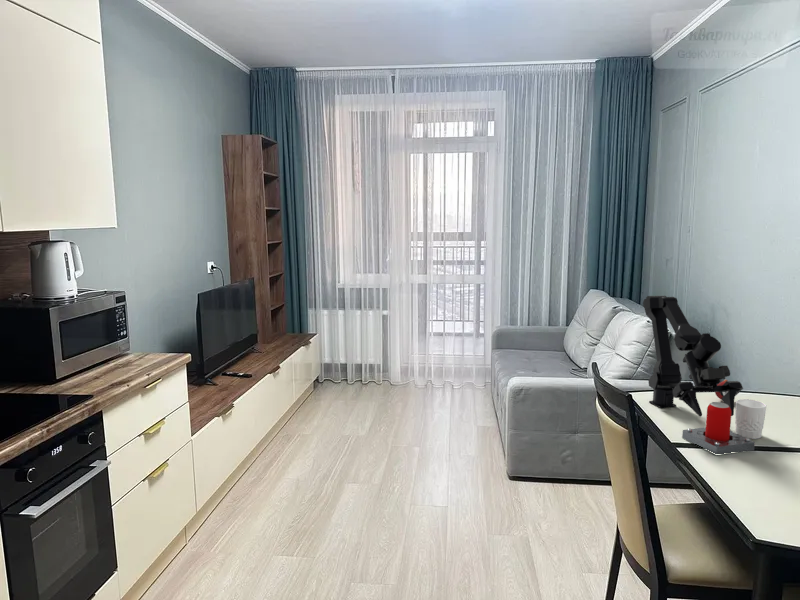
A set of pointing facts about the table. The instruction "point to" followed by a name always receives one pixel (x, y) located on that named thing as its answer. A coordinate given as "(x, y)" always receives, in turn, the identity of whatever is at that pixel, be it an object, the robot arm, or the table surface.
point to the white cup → (750, 418)
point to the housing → (715, 446)
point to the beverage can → (718, 421)
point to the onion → (719, 392)
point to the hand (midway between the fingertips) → (716, 415)
